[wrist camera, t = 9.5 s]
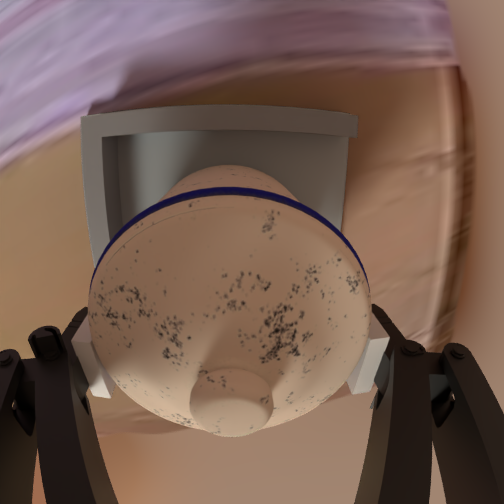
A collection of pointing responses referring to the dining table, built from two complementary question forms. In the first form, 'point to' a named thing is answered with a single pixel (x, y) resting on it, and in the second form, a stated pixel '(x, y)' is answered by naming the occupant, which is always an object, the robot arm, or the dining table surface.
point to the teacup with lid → (229, 304)
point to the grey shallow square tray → (208, 156)
